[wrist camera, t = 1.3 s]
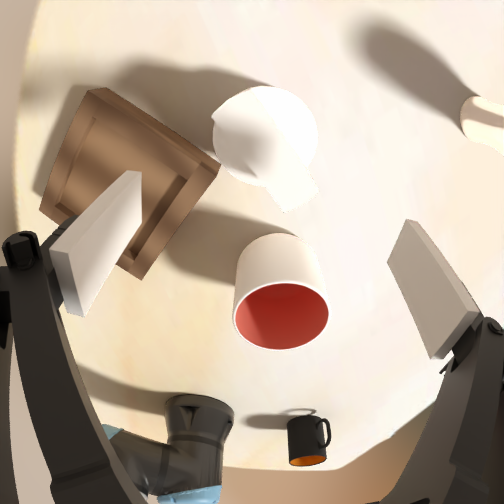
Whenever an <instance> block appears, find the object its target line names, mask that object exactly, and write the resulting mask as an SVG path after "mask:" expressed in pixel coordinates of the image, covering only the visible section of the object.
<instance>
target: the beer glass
mask: <svg viewBox="0 0 504 504" xmlns="http://www.w3.org/2000/svg"><path fill="white" fill-rule="evenodd" d="M460 123H461V127H462V130H463V132H464V134H465V135H466V136H467V138H469V139H470V140H471V141H473V142H477V143H482V144H487V145H489V146H491V147H493V148H494V149H495V150H497V151H498V152H499V153H500V154H502V155H503V156H504V105H500V104H494V103H492V102H490V101H488V100H486V99H484V98H482V97H479V96H472V97H470V98H468V99H467V100H466V101H465V102H464V104H463V106H462V108H461V112H460Z"/></svg>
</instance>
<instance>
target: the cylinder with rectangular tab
mask: <svg viewBox="0 0 504 504" xmlns="http://www.w3.org/2000/svg"><path fill="white" fill-rule="evenodd" d="M211 117H212V119H213V120H214V121H215V123H214V127H213V146H214V149H215V153H216V156H217V158H218V159H219V161H220V163H221V164H222V166H223V167H224V168H225V169H226V170H227V171H228V172H229V173H230V174H231V175H232V176H234V177H235V178H237V179H239V180H241V181H242V182H244V183H248V184H251V185H255V186H264V187H265V188H266V189H267V191H268V192H269V193H270V195H271V196H272V198H273V199H274V200H275V202H276V203H277V204H278V206H279V207H280V209H281V210H282V211H283V213H285V212H289V211H292V210H294V209H296V208H298V207H301V206H303V205H304V204H306V203H307V202H308V201H309V200H311V199H312V198H313V197H315V196H316V195H317V194H318V192H319V190H318V188H317V186H316V184H315V182H314V180H313V178H312V176H311V174H310V172H309V171H308V169H307V166H308V165H309V163H310V162H311V161H312V159H313V156H314V154H315V151H316V148H317V140H318V132H317V126H316V122H315V119H314V117H313V115H312V113H311V111H310V109H309V108H308V107H307V106H306V105H305V104H304V103H303V101H302V100H301V99H299V98H298V97H296V96H295V95H293V94H292V93H290V92H288V91H285V90H282V89H279V88H276V87H273V86H256V87H251V88H247V89H245V90H243V91H241V92H240V93H238V94H236V95H234V96H233V97H231V98H230V99H228V100H227V101H226V102H224V103H223V104H222V105H221V106H220V107H219V108H218V109H217V110H216V111H215V112H214V113H213V115H212V116H211Z"/></svg>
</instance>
